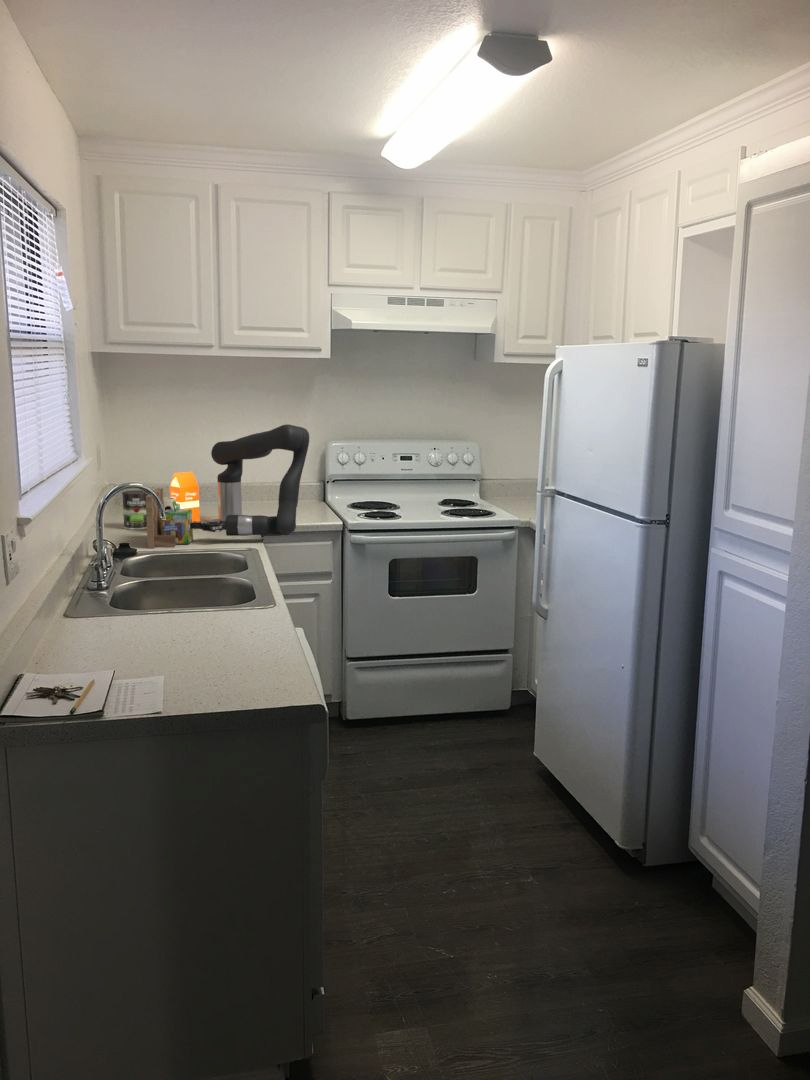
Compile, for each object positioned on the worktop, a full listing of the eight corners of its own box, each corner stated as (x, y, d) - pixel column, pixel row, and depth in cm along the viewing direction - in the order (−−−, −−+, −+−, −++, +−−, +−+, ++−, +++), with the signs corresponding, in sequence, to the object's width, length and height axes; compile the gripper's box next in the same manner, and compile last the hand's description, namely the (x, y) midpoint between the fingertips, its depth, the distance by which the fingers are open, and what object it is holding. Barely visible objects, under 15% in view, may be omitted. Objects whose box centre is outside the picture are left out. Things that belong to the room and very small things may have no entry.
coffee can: (151, 529, 334) (149, 493, 332) (123, 530, 332) (121, 493, 329) (151, 525, 344) (150, 489, 342) (124, 526, 342) (122, 490, 339)
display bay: (159, 536, 320) (157, 488, 316) (184, 536, 320) (182, 488, 317) (147, 548, 298) (145, 496, 295) (174, 548, 299) (172, 496, 296)
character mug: (149, 534, 325) (148, 499, 322) (154, 530, 332) (153, 497, 329) (178, 534, 325) (177, 500, 323) (183, 531, 332) (182, 497, 330)
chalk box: (188, 544, 305) (187, 503, 302) (162, 544, 304) (160, 503, 302) (194, 540, 314) (192, 499, 311) (168, 540, 314) (166, 499, 311)
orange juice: (170, 521, 354) (168, 472, 350) (189, 518, 360) (187, 471, 356) (181, 523, 348) (179, 474, 345) (200, 521, 355) (198, 472, 351)
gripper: (241, 512, 316) (192, 512, 315) (237, 517, 303) (187, 518, 302) (241, 532, 318) (193, 532, 316) (238, 538, 305) (188, 539, 303)
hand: (190, 525), depth 309 cm, fingers closed
